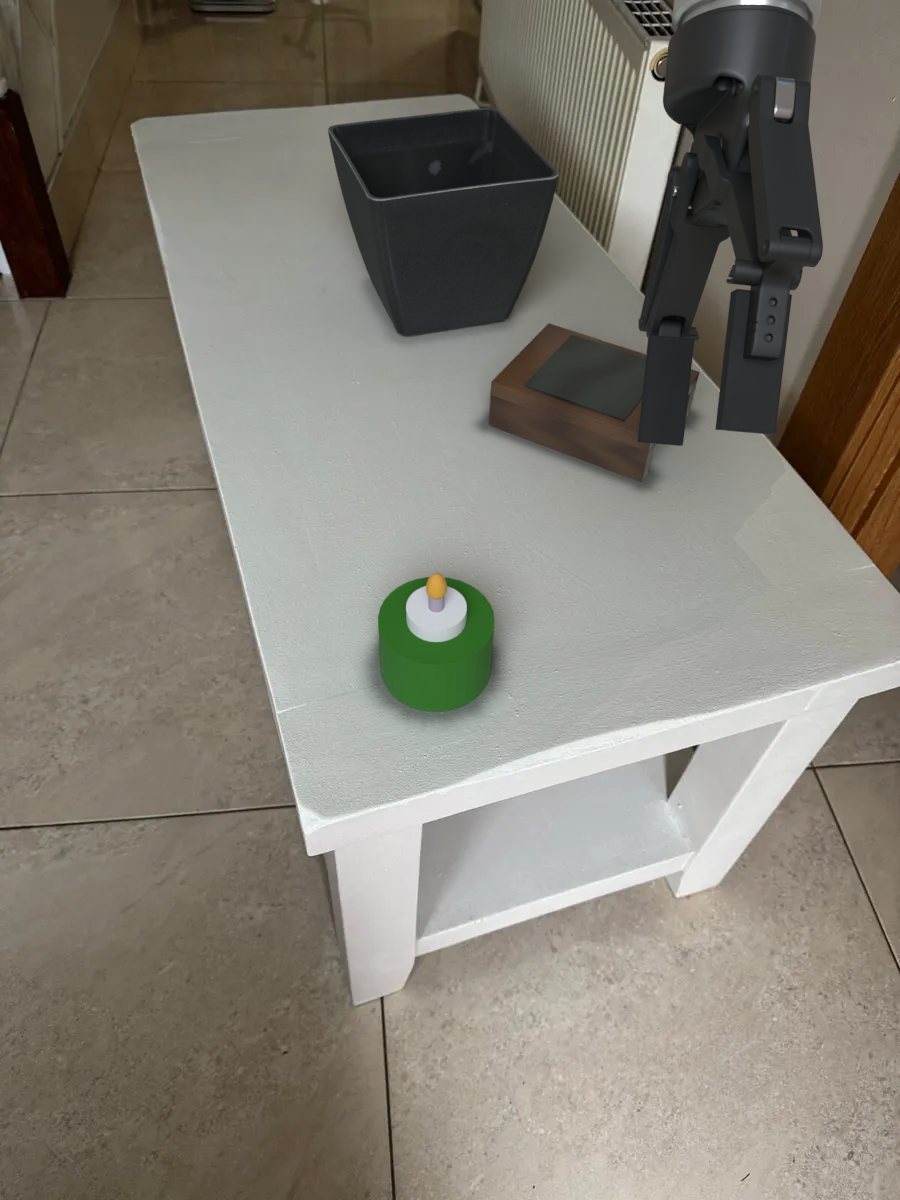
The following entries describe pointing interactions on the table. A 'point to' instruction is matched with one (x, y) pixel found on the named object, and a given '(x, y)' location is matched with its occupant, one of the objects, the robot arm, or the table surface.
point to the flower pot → (444, 213)
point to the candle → (435, 643)
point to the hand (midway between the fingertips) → (696, 439)
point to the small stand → (577, 399)
